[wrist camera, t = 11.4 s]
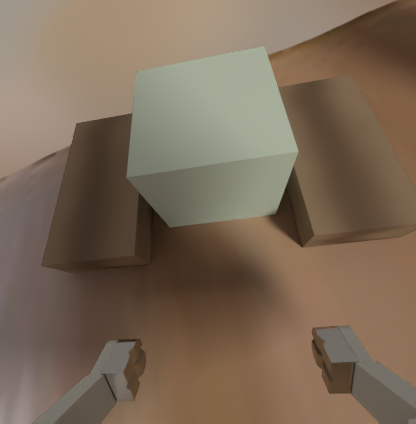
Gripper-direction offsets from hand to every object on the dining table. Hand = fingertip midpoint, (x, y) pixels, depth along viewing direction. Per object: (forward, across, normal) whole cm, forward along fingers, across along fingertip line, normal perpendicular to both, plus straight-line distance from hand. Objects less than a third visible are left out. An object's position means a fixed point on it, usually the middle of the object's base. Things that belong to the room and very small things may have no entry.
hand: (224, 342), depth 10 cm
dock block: (+12, 0, -5) cm, 13 cm away
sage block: (+13, 0, -5) cm, 14 cm away
